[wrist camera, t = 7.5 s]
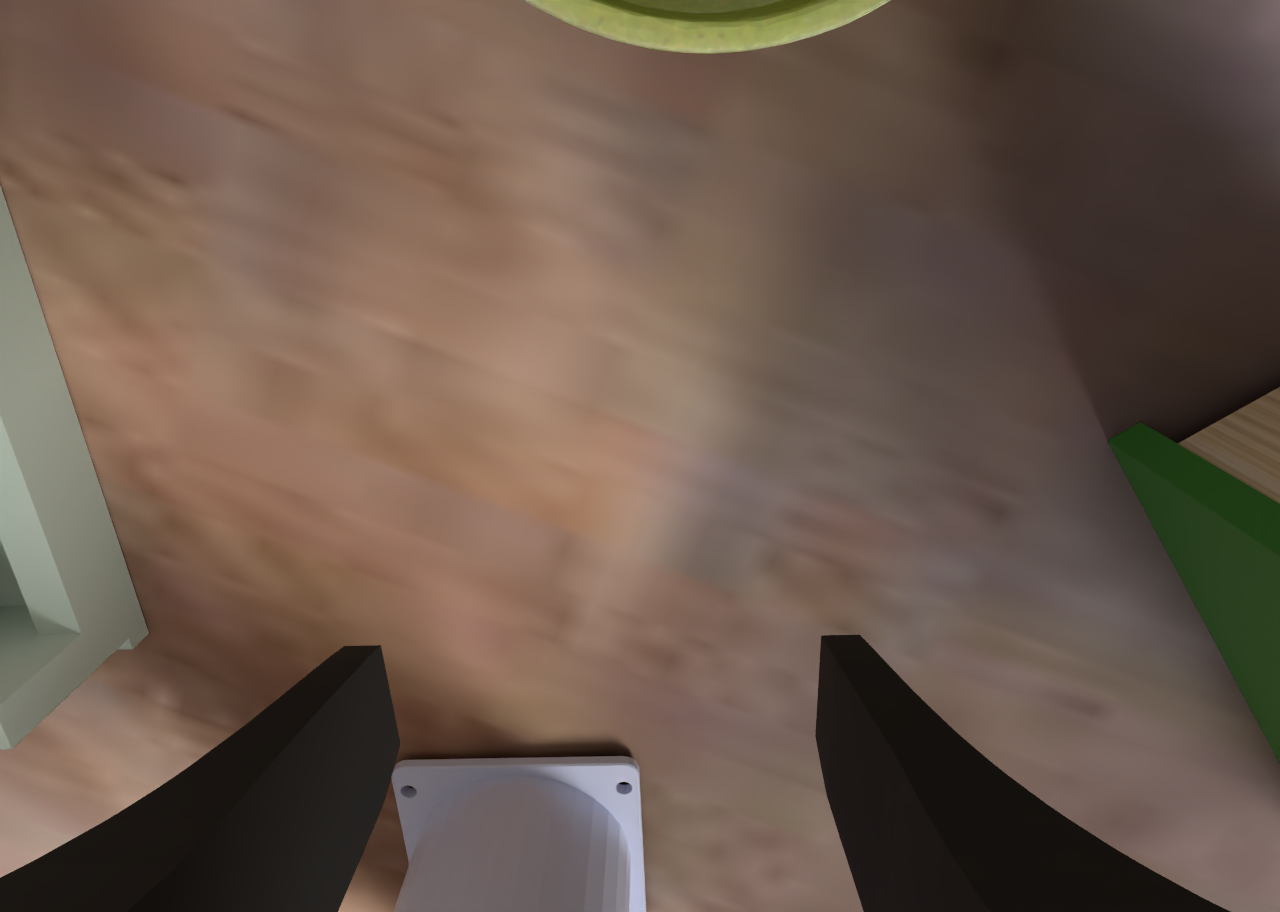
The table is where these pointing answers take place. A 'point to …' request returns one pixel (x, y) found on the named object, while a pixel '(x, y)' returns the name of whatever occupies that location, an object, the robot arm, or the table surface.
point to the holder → (49, 523)
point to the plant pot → (707, 21)
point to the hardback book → (1223, 535)
